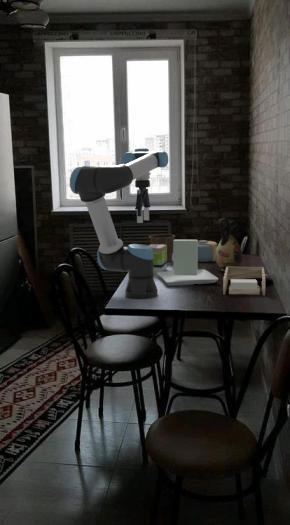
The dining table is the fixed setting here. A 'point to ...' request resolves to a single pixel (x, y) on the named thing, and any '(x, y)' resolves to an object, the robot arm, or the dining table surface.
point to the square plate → (187, 278)
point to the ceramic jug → (228, 247)
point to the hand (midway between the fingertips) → (143, 221)
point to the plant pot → (164, 243)
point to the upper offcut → (243, 284)
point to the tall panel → (185, 257)
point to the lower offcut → (244, 291)
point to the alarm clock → (206, 251)
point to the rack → (243, 275)
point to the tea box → (159, 257)
